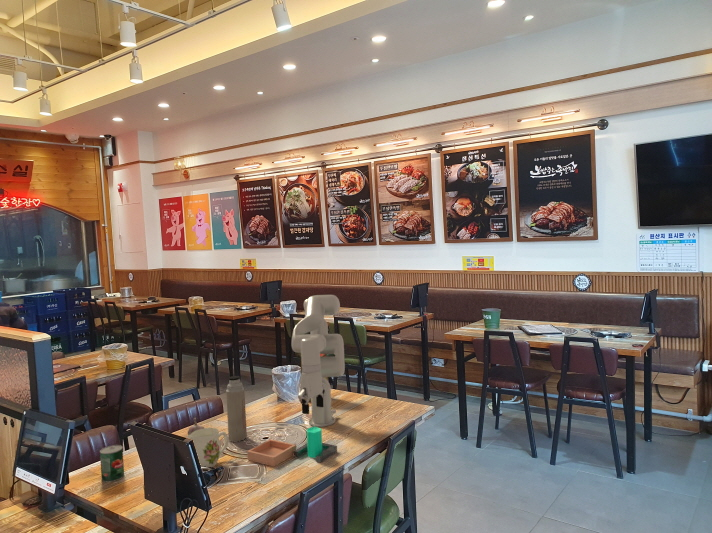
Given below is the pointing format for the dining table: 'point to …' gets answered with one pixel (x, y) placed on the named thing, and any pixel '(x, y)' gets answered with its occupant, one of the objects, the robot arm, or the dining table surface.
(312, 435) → the candle
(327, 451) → the dock
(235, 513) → the dining table surface
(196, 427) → the garlic bulb
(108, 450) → the canned tomato
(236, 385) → the thermos bottle
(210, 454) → the pitcher
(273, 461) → the tray
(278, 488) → the dining table surface
